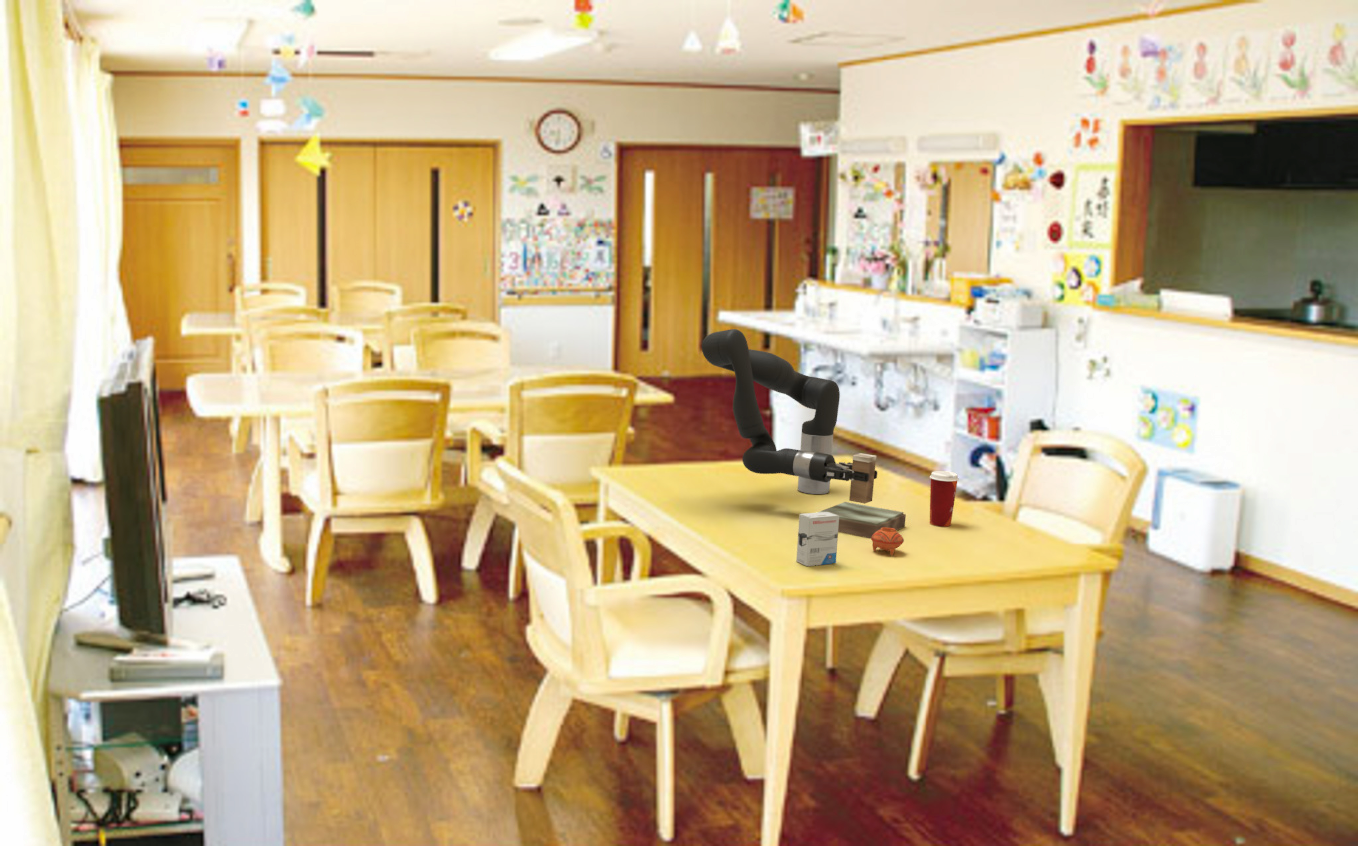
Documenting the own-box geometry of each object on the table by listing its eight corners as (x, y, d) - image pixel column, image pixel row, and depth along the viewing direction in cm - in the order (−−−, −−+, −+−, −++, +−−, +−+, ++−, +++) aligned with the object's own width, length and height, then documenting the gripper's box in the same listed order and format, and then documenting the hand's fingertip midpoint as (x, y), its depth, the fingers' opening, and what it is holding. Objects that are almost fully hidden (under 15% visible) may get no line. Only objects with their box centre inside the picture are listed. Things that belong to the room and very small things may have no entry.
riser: (843, 515, 379) (844, 501, 378) (904, 526, 369) (905, 512, 369) (813, 527, 364) (814, 512, 363) (877, 539, 354) (878, 524, 354)
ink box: (825, 558, 333) (828, 510, 331) (836, 563, 329) (840, 515, 327) (795, 561, 329) (798, 512, 327) (806, 566, 325) (809, 517, 323)
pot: (870, 554, 338) (871, 526, 339) (870, 554, 346) (871, 526, 346) (904, 556, 337) (905, 528, 338) (902, 555, 345) (903, 528, 345)
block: (856, 497, 368) (860, 453, 366) (872, 500, 366) (876, 455, 364) (848, 500, 364) (853, 455, 362) (865, 503, 362) (869, 458, 360)
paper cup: (960, 527, 373) (964, 475, 370) (935, 528, 370) (940, 476, 367) (944, 520, 380) (948, 469, 377) (920, 521, 377) (924, 470, 375)
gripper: (802, 455, 365) (862, 465, 356) (826, 448, 377) (885, 458, 368) (800, 483, 366) (859, 494, 357) (824, 476, 378) (882, 486, 369)
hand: (872, 476), depth 363 cm, fingers closed on block, 4 cm apart
